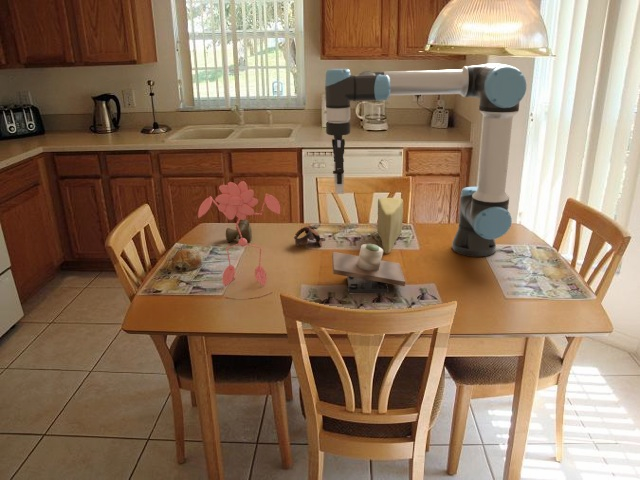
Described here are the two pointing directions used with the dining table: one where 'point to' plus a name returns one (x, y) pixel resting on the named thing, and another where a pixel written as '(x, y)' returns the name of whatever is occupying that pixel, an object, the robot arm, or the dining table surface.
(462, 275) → the dining table surface
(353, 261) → the panel with push button
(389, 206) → the cheese
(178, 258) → the bread roll
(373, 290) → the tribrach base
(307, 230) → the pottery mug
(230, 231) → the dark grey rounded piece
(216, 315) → the dining table surface
